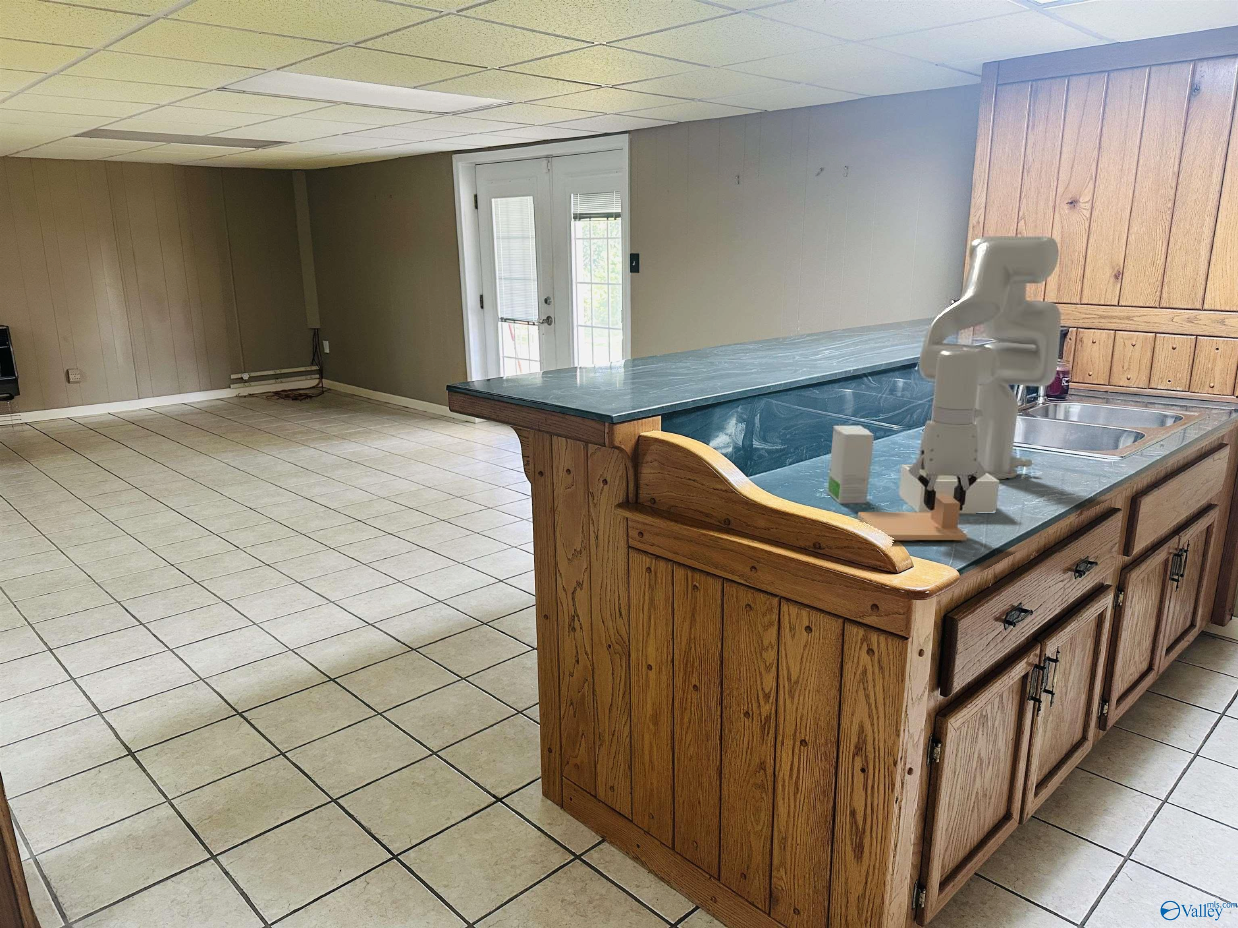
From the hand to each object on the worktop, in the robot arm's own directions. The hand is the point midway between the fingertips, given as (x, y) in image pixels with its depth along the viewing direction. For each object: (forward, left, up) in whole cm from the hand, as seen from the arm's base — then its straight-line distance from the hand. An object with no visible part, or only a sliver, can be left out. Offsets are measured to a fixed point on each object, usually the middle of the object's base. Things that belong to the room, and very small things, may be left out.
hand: (943, 507), depth 166 cm
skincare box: (+13, -22, -5) cm, 26 cm away
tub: (-7, -18, -5) cm, 20 cm away
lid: (+6, 0, -4) cm, 7 cm away
